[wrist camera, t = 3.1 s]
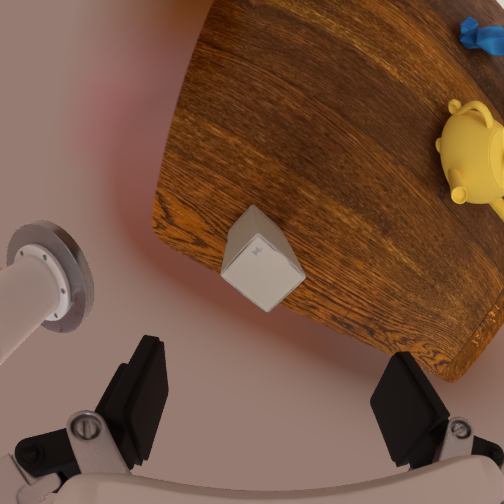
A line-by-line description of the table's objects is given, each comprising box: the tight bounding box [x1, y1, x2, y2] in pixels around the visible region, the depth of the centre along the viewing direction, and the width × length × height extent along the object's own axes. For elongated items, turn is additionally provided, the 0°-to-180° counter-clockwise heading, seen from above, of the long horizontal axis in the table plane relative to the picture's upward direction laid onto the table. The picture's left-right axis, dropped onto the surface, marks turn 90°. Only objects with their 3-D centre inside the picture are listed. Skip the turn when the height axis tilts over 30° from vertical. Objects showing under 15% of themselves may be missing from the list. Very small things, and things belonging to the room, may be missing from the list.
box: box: [221, 204, 306, 312], centre depth 26 cm, size 5×4×13 cm
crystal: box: [459, 17, 504, 56], centre depth 18 cm, size 7×9×12 cm
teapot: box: [436, 99, 504, 222], centre depth 24 cm, size 14×14×11 cm
